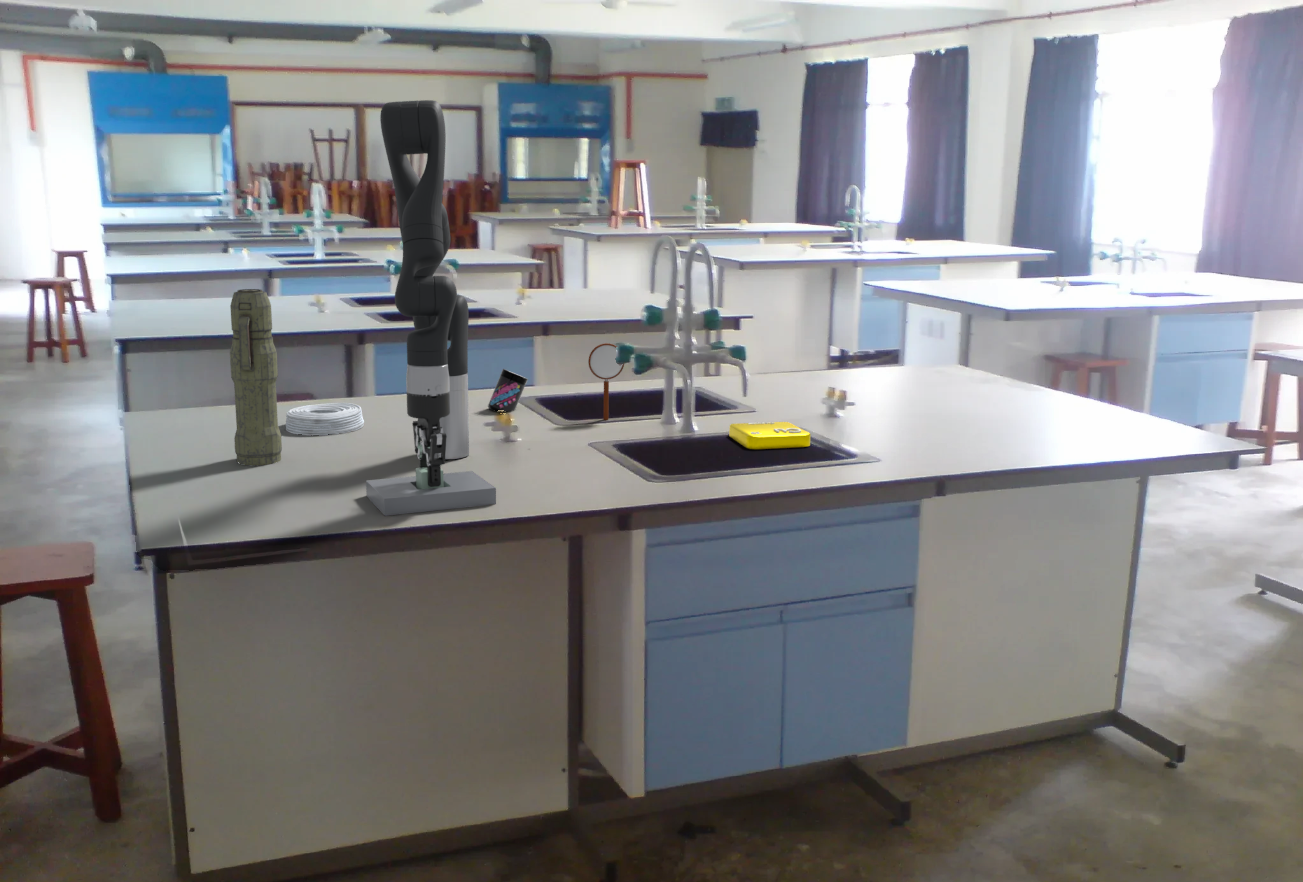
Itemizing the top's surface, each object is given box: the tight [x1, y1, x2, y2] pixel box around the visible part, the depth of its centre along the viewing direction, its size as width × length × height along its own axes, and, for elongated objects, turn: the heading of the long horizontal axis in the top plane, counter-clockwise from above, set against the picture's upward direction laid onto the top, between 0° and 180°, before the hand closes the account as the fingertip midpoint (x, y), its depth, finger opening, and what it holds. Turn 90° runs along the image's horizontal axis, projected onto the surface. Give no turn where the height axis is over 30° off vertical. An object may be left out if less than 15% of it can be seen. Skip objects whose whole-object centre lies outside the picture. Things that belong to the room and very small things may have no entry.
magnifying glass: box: [588, 342, 625, 421], centre depth 279 cm, size 9×2×20 cm, turn 101°
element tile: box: [728, 421, 811, 450], centre depth 262 cm, size 15×15×5 cm
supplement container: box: [487, 368, 529, 413], centre depth 289 cm, size 7×7×10 cm
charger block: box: [415, 467, 444, 490], centre depth 211 cm, size 4×4×6 cm
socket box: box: [365, 470, 497, 516], centre depth 211 cm, size 14×20×3 cm
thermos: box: [229, 288, 283, 467], centre depth 233 cm, size 9×12×35 cm
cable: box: [285, 402, 365, 437], centre depth 267 cm, size 18×18×6 cm
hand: (430, 482), depth 211 cm, fingers open, 4 cm apart
